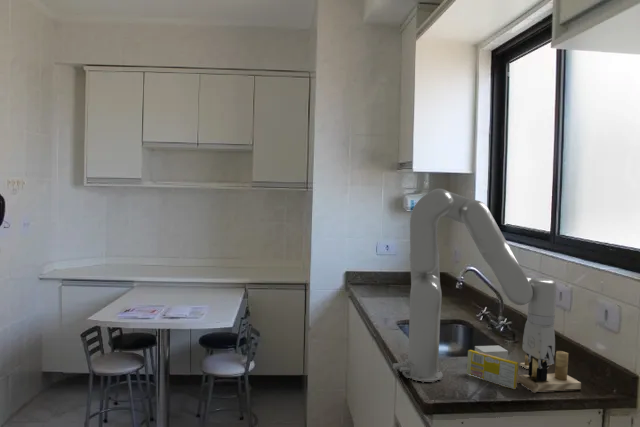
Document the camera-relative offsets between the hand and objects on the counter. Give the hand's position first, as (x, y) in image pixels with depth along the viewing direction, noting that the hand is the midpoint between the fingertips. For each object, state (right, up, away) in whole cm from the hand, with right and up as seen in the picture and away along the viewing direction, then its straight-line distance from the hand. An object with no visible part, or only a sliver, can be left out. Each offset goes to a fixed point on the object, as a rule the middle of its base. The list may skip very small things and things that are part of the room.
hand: (537, 377), depth 156 cm
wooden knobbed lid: (+6, -2, +18) cm, 19 cm away
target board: (+4, -3, +1) cm, 5 cm away
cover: (-8, -2, +18) cm, 20 cm away
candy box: (-13, -3, +4) cm, 14 cm away
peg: (0, -2, 0) cm, 2 cm away
